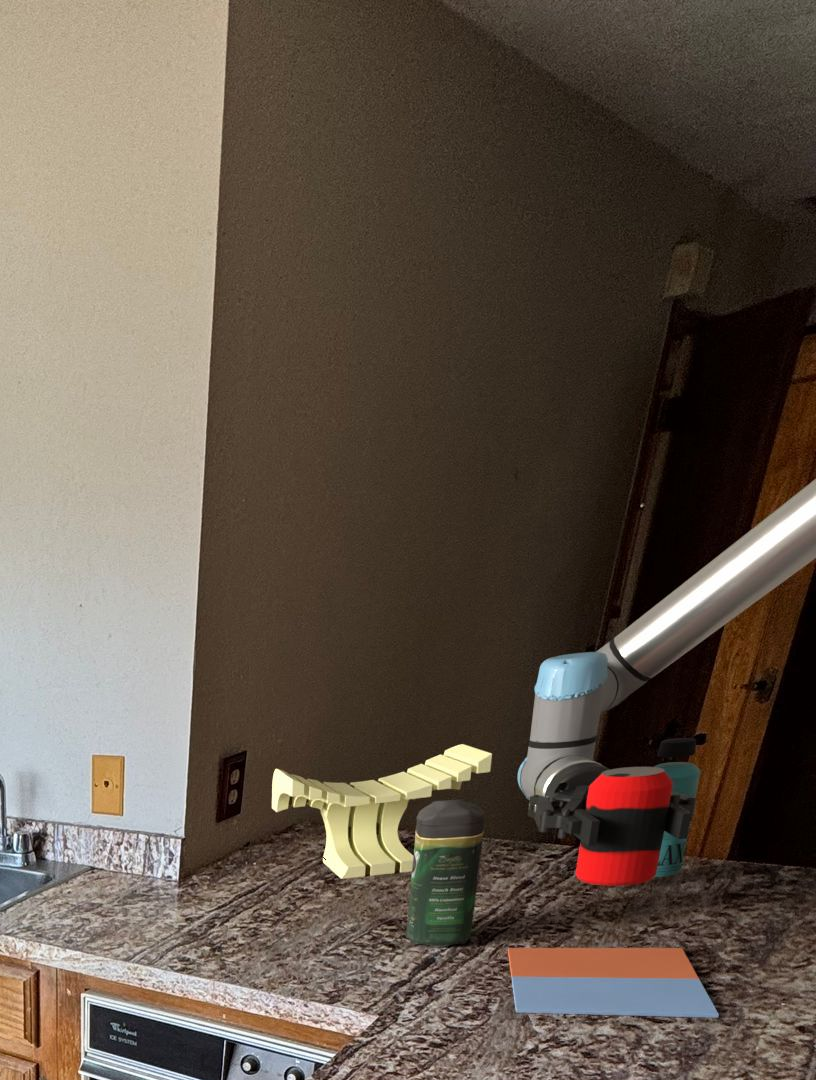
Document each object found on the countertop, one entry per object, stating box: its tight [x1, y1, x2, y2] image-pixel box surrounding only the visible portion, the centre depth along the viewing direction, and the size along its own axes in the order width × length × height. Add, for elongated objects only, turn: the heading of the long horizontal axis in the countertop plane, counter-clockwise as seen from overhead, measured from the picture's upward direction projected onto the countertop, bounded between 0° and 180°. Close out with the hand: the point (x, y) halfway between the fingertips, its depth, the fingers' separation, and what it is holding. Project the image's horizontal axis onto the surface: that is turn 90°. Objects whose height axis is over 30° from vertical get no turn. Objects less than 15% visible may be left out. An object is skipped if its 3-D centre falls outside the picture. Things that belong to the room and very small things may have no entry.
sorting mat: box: [507, 947, 720, 1019], centre depth 117 cm, size 18×22×1 cm
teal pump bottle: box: [653, 737, 702, 878], centre depth 141 cm, size 6×7×20 cm
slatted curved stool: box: [271, 743, 493, 880], centre depth 172 cm, size 30×16×18 cm, turn 81°
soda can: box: [575, 766, 673, 887], centre depth 113 cm, size 8×8×12 cm
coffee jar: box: [406, 799, 485, 948], centre depth 135 cm, size 10×8×19 cm
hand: (638, 829), depth 109 cm, fingers closed on soda can, 7 cm apart
